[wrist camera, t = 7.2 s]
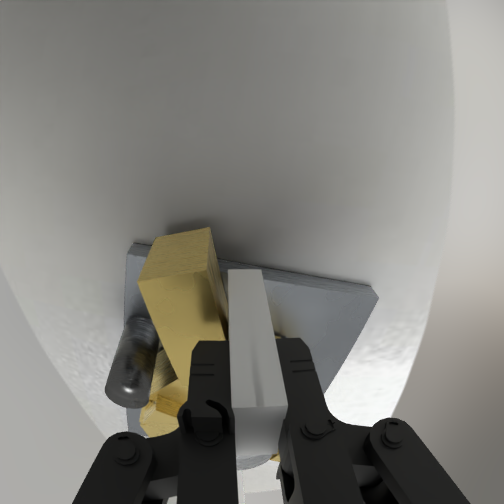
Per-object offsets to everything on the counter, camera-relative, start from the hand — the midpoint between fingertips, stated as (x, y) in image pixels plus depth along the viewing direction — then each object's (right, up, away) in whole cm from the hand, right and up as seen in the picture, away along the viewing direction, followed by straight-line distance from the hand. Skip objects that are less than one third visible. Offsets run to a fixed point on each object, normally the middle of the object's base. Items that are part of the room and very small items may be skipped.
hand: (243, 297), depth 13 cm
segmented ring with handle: (-1, -4, +4) cm, 6 cm away
